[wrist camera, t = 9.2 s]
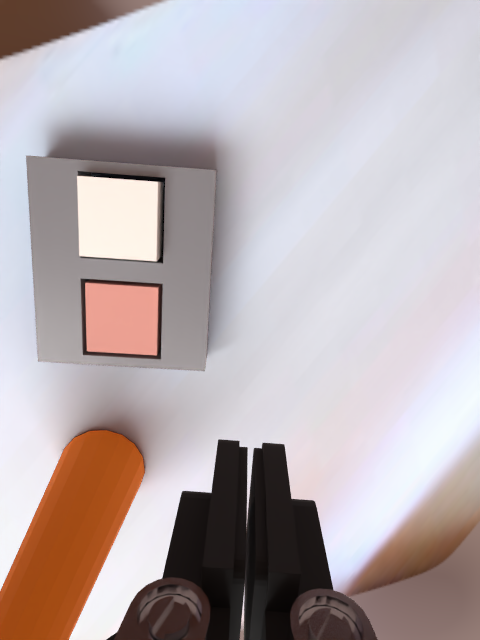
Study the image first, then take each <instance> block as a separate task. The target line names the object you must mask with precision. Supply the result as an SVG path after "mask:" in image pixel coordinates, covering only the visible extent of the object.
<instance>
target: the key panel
mask: <svg viewBox="0 0 480 640" xmlns="http://www.w3.org/2000/svg"><path fill="white" fill-rule="evenodd" d="M26 162H27V179H28V197H29V214H30V231H31V249H32V266H33V283H34V301H35V318H36V336H37V353H38V361H39V362H56V363H73V364H91V365H108V366H125V367H142V368H160V369H177V370H194V371H205V365H206V358H207V341H208V323H209V304H210V286H211V268H212V249H213V231H214V212H215V194H216V175H217V171H216V170H210V169H197V168H183V167H170V166H157V165H144V164H131V163H118V162H105V161H91V160H78V159H65V158H52V157H39V156H26ZM91 173H104V174H117V175H131V176H144V177H157V178H165V209H164V251H163V257H160V258H159V259H158V260H157V261H144V260H129V259H115V258H100V257H85V256H79V227H78V191H77V176H87V177H91ZM90 279H98V280H113V281H128V282H143V283H159V284H163V293H162V334H161V347H160V349H159V352H158V354H157V355H141V354H124V353H107V352H90V351H87V339H86V299H85V283H86V282H87V281H89V280H90Z"/></svg>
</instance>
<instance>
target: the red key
mask: <svg viewBox="0 0 480 640" xmlns="http://www.w3.org/2000/svg"><path fill="white" fill-rule="evenodd" d="M162 293H163V284H159V283H143V282H128V281H113V280H98V279H90V280H89V281H87V282H86V283H85V299H86V339H87V351H90V352H107V353H124V354H141V355H157V354H158V352H159V349H160V347H161V334H162Z"/></svg>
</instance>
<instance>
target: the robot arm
mask: <svg viewBox="0 0 480 640" xmlns="http://www.w3.org/2000/svg"><path fill="white" fill-rule="evenodd" d="M246 520H247V447H239V441H232V440H218V446H217V454H216V462H215V470H214V477H213V485H212V493H205V492H192V491H183V492H182V494H181V498H180V503H179V507H178V511H177V516H176V520H175V525H174V529H173V534H172V538H171V542H170V547H169V551H168V556H167V560H166V565H165V569H164V573H163V578H162V579H159V580H156V581H154V582H152V583H150V584H148V585H146V586H145V587H144V588H143V589H142V590H140V591H139V592H138V593H137V595H136V596H135V598H134V599H133V601H132V602H131V604H130V606H129V608H128V610H127V613H126V615H125V617H124V619H123V621H122V623H121V625H120V628H119V630H118V632H117V633H115V634H114V635H112V636H111V637H110V638H108V639H107V640H239V638H240V628H241V617H242V606H243V595H244V584H245V602H244V640H378V639H377V637H376V634H375V632H374V630H373V628H372V625H371V623H370V621H369V619H368V617H367V616H366V614H365V612H364V611H363V609H362V608H361V607H360V606H359V605H358V604H357V603H356V602H355V601H354V600H352V599H351V598H349V597H347V596H346V595H344V594H343V593H340V592H337V591H334V590H333V586H332V581H331V576H330V571H329V566H328V562H327V557H326V552H325V547H324V542H323V537H322V532H321V527H320V522H319V517H318V512H317V507H316V504H315V502H314V501H312V500H299V499H291V492H290V485H289V477H288V469H287V461H286V453H285V446H284V444H272V443H263V444H262V449H261V448H254V453H253V464H252V475H251V486H250V497H249V508H248V520H247V531H246Z"/></svg>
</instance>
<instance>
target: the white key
mask: <svg viewBox="0 0 480 640" xmlns="http://www.w3.org/2000/svg"><path fill="white" fill-rule="evenodd" d="M77 191H78V227H79V256H85V257H100V258H115V259H129V260H144V261H157V260H158V259H159V258H160V257H161V256H162V224H163V182H154V181H140V180H127V179H114V178H100V177H87V176H77Z"/></svg>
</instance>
